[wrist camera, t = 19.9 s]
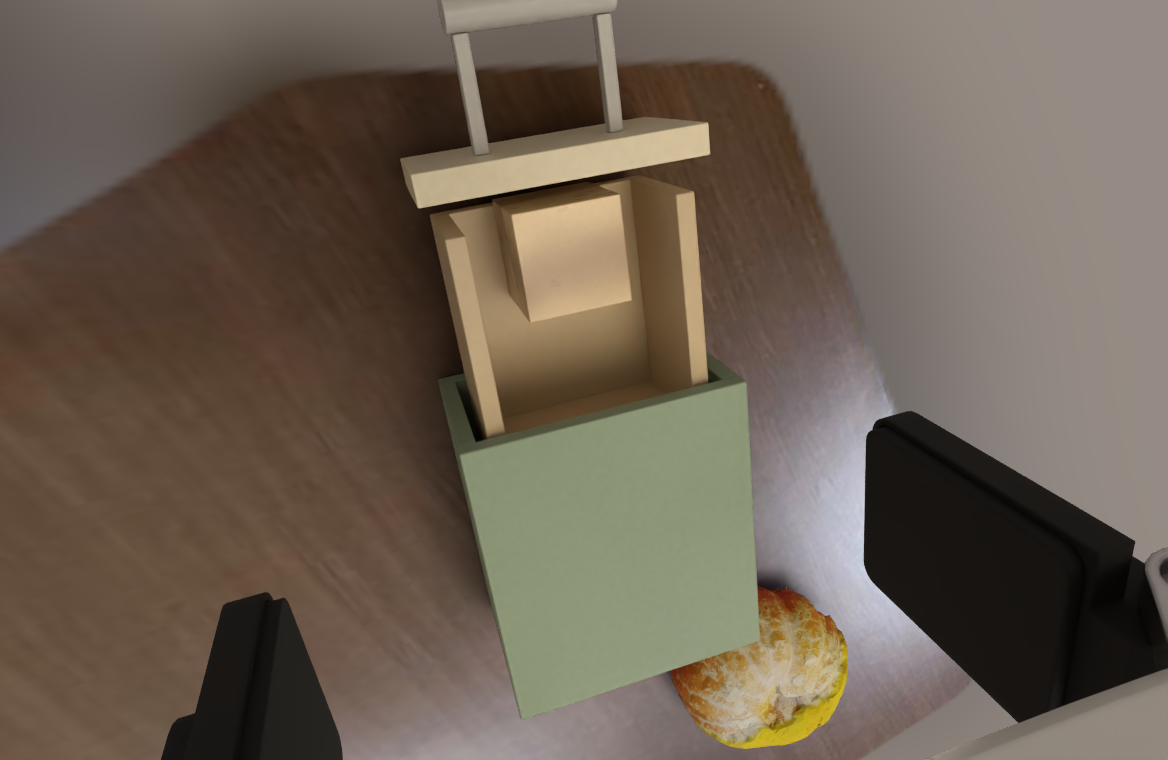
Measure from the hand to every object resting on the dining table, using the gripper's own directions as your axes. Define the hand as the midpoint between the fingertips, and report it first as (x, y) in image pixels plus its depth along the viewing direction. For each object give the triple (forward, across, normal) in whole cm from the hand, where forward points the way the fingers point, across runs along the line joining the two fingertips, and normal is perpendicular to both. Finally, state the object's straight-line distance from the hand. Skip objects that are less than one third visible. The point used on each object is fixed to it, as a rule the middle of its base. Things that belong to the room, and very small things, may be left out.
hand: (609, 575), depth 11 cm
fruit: (+26, -14, +29) cm, 42 cm away
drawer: (+25, -5, 0) cm, 26 cm away
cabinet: (+26, -5, +14) cm, 30 cm away
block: (+24, -5, 0) cm, 24 cm away
